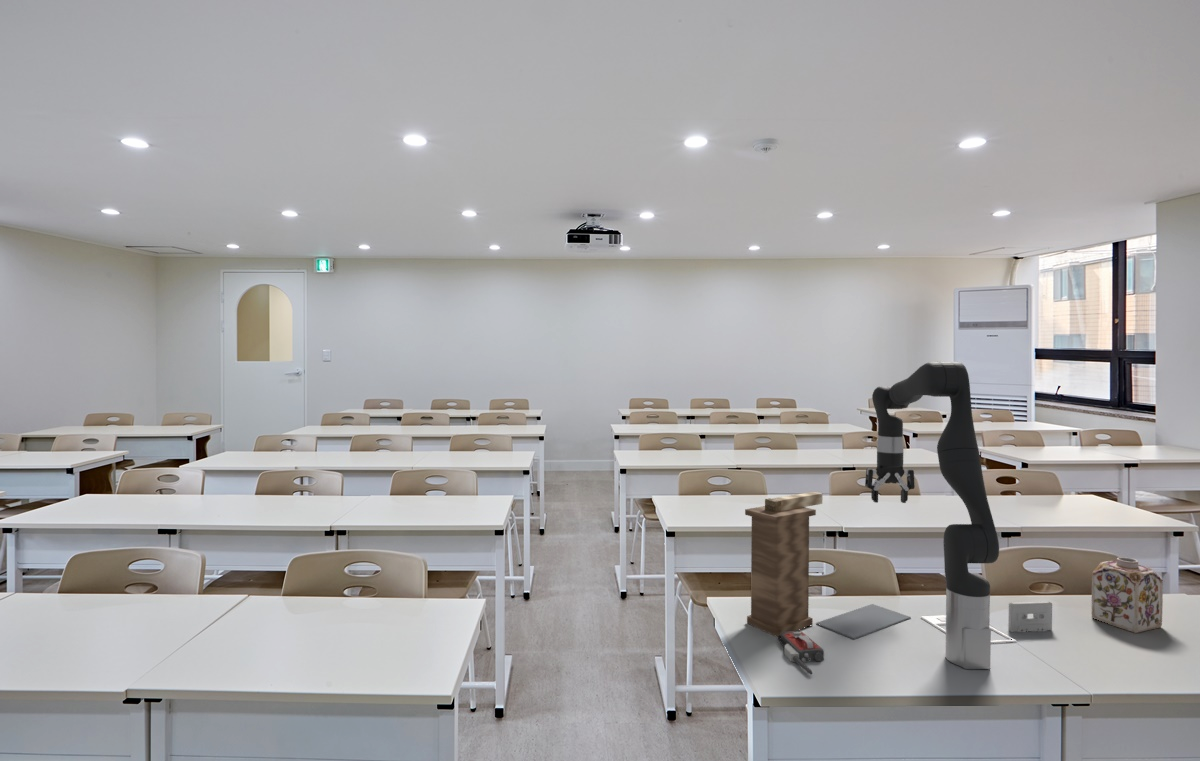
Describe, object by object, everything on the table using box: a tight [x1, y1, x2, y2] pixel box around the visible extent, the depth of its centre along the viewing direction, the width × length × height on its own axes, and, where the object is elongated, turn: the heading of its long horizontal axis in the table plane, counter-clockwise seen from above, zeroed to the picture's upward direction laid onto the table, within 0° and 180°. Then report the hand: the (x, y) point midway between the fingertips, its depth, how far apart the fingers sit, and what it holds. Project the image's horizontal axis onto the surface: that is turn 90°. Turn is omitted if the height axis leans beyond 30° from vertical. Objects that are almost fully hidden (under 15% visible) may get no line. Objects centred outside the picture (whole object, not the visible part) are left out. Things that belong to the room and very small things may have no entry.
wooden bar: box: [764, 491, 823, 513], centre depth 181 cm, size 20×4×3 cm, turn 123°
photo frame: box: [920, 614, 1017, 645], centre depth 175 cm, size 15×1×18 cm
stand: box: [744, 505, 817, 638], centre depth 179 cm, size 16×11×32 cm
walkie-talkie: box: [777, 630, 825, 675], centre depth 159 cm, size 9×4×20 cm
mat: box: [816, 603, 911, 640], centre depth 181 cm, size 26×12×1 cm, turn 123°
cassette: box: [1007, 601, 1053, 633], centre depth 175 cm, size 12×2×8 cm, turn 94°
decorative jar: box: [1091, 556, 1164, 634], centre depth 180 cm, size 12×12×18 cm
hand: (889, 502), depth 201 cm, fingers open, 8 cm apart
